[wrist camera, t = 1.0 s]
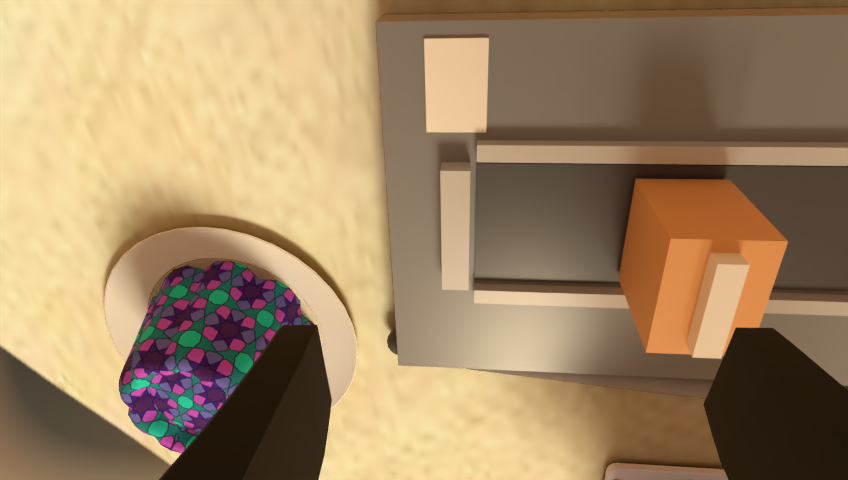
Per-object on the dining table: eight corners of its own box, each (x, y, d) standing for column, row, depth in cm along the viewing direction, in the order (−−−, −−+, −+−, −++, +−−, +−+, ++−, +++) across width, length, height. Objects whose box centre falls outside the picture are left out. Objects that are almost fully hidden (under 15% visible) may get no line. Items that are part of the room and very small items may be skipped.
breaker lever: (703, 280, 20) (757, 370, 16) (618, 278, 21) (651, 366, 17) (729, 179, 18) (799, 253, 14) (635, 178, 19) (677, 249, 15)
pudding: (92, 359, 29) (18, 442, 24) (144, 170, 23) (60, 231, 18) (306, 449, 30) (275, 542, 26) (404, 295, 25) (386, 379, 20)
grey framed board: (872, 360, 24) (909, 403, 22) (403, 341, 26) (395, 378, 23) (1043, 3, 17) (1123, 15, 15) (383, 14, 19) (371, 25, 17)
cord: (896, 391, 24) (912, 410, 23) (883, 409, 25) (899, 428, 24) (459, 337, 25) (457, 353, 24) (456, 356, 26) (455, 372, 25)
